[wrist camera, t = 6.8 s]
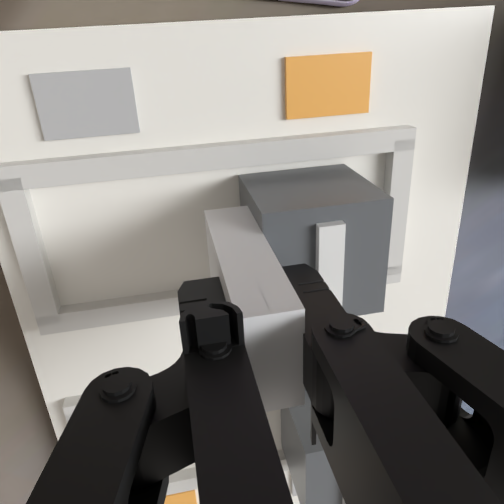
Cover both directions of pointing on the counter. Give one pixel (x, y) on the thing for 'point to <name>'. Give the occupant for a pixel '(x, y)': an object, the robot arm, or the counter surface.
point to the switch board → (216, 167)
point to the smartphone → (327, 2)
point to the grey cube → (307, 458)
